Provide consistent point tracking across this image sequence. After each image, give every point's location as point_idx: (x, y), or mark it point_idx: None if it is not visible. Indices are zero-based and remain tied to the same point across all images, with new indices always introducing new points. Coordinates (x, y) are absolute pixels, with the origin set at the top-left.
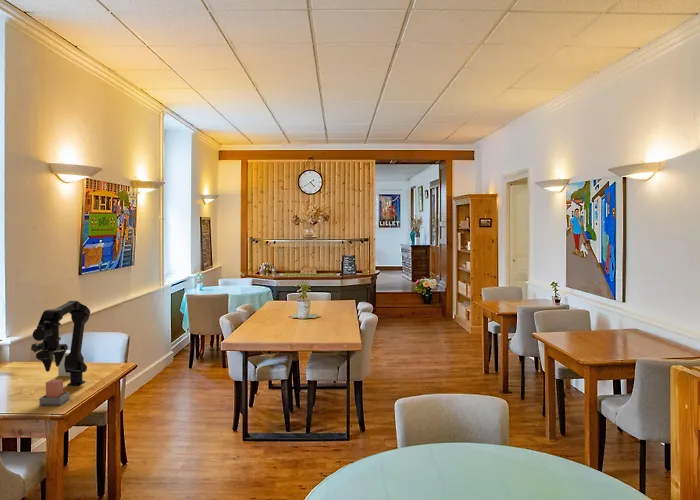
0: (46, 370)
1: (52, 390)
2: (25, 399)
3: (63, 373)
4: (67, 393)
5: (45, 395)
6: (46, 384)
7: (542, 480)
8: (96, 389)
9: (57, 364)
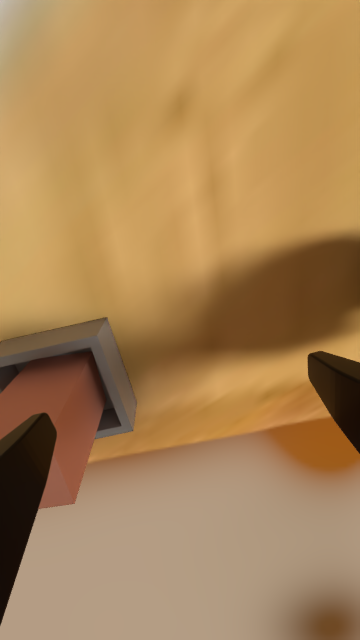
0: (23, 430)
1: None
2: (66, 158)
3: None
4: (111, 434)
5: (34, 357)
6: None
7: None
8: (295, 418)
9: (325, 386)
